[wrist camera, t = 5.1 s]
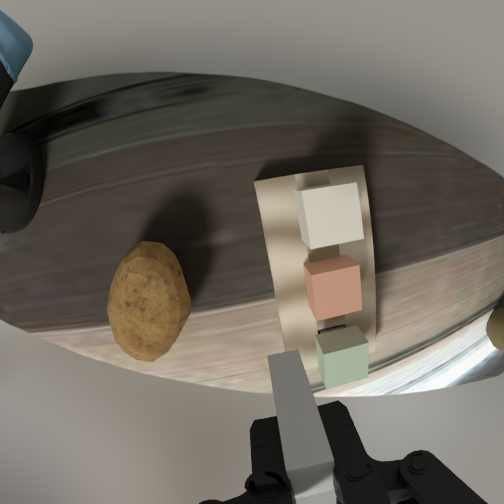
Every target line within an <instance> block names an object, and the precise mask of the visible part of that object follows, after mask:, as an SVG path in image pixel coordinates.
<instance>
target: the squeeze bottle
mask: <svg viewBox="0 0 504 504" xmlns="http://www.w3.org/2000/svg"><path fill="white" fill-rule="evenodd" d="M486 332H487V335H488V337H489V338H490V340H491V342H492V344H493V346H494V347H496V348H497V349H499V350H501V351H502V352H504V308H498V309H496V310H495V311H494V312H493V314H492V315H491V317H490V319H489V321H488V324H487V328H486Z"/></svg>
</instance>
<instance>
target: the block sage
mask: <svg viewBox="0 0 504 504" xmlns="http://www.w3.org/2000/svg"><path fill="white" fill-rule="evenodd" d="M315 338H316V348H317V358H318V368H319V371H320V374H321V377H322V379H323V382H324V385H325V388H326V389H328V388H332V387H335V386H339V385H343V384H347V383H350V382H354V381H357V380H361V379H364V378H367V377H368V362H369V342H368V340H367V339H366V338H365V336H364V335H363V333H362V332H361V331H360V329H359V328H358V327H357V325H354V326H351V327H347V328H344V326H339V327H335V328H331V329H327V330H323V331H320V334H318V335H315Z"/></svg>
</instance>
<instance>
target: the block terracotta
mask: <svg viewBox="0 0 504 504" xmlns="http://www.w3.org/2000/svg"><path fill="white" fill-rule="evenodd" d="M303 267H304V273H305V281H306V288H307V295H308V303H309V306H310V309H311V311H312V313H313V315H314V317H315V319H316V321H319V320H323V319H328V318H332V317H336V316H340V315H344V314H348V313H352V312H356V311H360V310H362V298H361V279H360V265H359V264H358V263H356V262H355V261H354V260H352V259H351V258H350V257H348V256H347V255H343V256H338V257H334V258H329V259H324V260H319V261H314V262H309V263H304V264H303Z"/></svg>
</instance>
